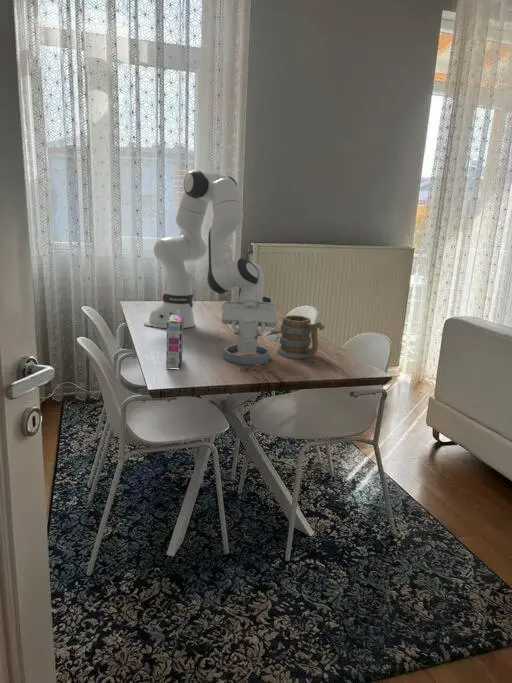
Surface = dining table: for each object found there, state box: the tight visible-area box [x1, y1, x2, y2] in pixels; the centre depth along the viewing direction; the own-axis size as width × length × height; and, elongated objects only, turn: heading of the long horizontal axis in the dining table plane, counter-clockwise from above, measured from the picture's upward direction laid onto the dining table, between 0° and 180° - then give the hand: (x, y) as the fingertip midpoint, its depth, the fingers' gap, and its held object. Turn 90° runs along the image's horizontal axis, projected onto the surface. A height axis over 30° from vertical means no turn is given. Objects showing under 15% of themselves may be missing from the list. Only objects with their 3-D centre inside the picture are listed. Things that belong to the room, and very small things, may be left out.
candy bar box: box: [165, 315, 184, 370], centre depth 175 cm, size 11×5×16 cm, turn 4°
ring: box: [263, 328, 282, 342], centre depth 223 cm, size 19×19×2 cm
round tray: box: [223, 343, 271, 366], centre depth 188 cm, size 17×17×3 cm
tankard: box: [276, 314, 325, 360], centre depth 193 cm, size 20×13×15 cm, turn 36°
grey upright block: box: [237, 318, 259, 353], centre depth 187 cm, size 6×4×12 cm
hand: (247, 334), depth 186 cm, fingers closed on grey upright block, 7 cm apart
